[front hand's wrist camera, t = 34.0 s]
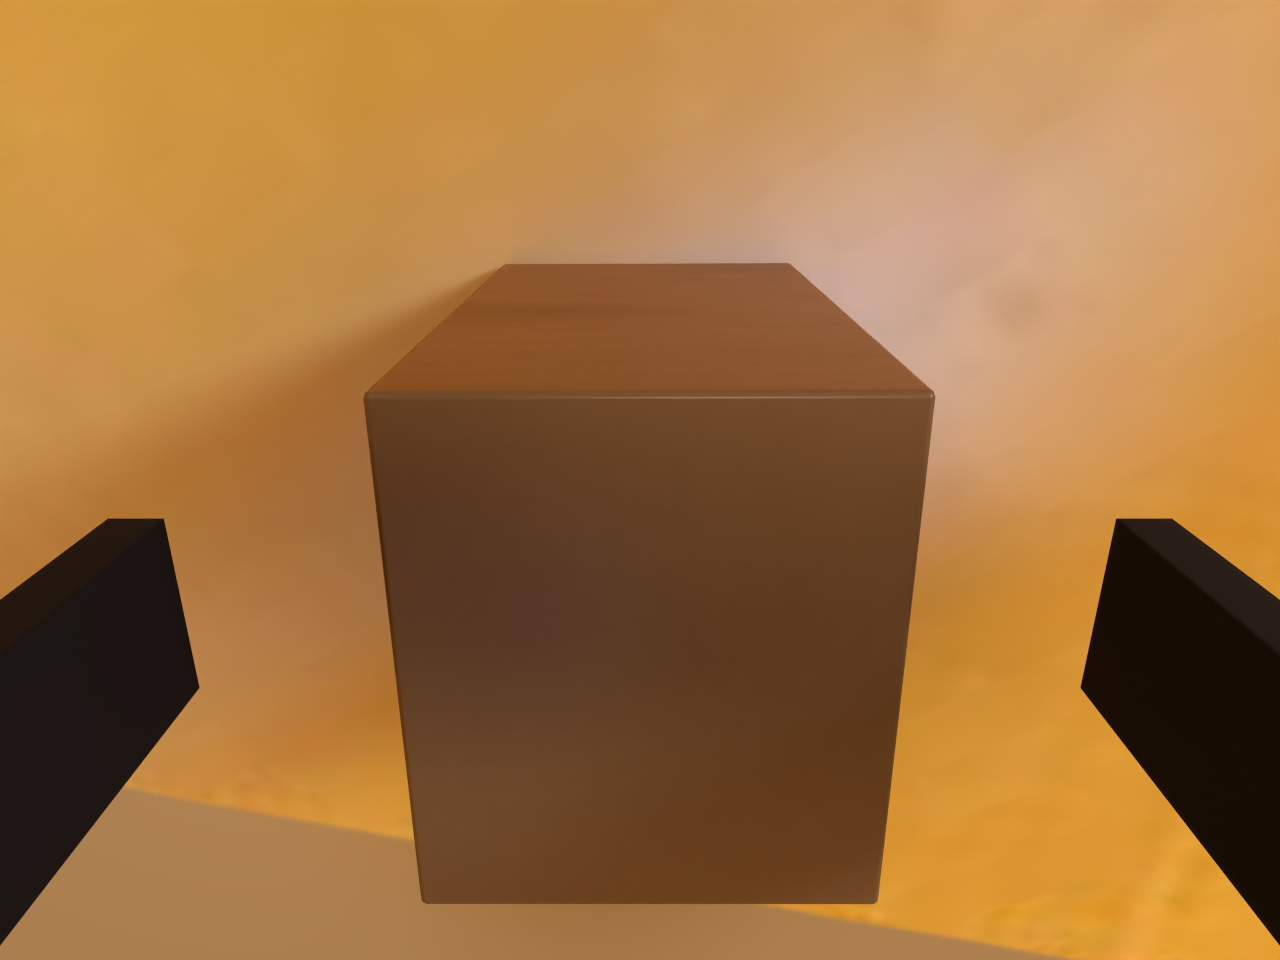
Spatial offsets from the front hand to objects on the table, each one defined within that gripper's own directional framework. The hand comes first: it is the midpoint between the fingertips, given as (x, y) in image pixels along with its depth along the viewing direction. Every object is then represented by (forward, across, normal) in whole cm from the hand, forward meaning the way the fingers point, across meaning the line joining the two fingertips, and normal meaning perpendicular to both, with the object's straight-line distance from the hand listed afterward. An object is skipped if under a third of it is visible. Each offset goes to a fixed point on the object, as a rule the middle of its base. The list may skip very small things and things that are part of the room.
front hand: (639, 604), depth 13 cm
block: (+10, 0, +1) cm, 10 cm away
